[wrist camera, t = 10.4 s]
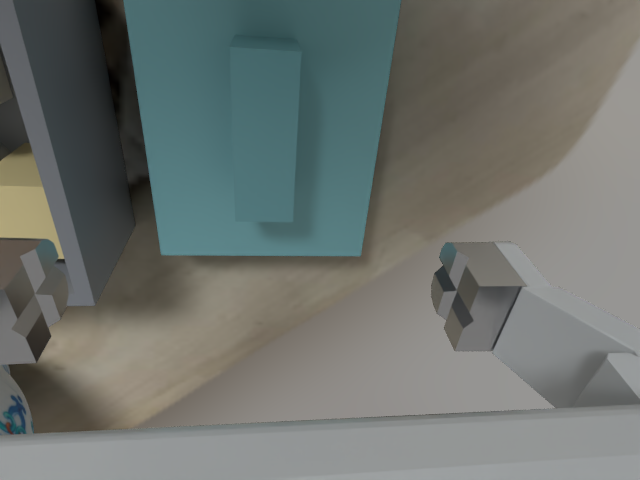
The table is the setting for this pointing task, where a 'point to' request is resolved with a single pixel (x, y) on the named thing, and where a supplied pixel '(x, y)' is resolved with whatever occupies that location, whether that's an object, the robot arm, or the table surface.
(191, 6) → the lid
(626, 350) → the robot arm
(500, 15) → the table surface
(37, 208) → the storage box
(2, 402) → the chinaware
